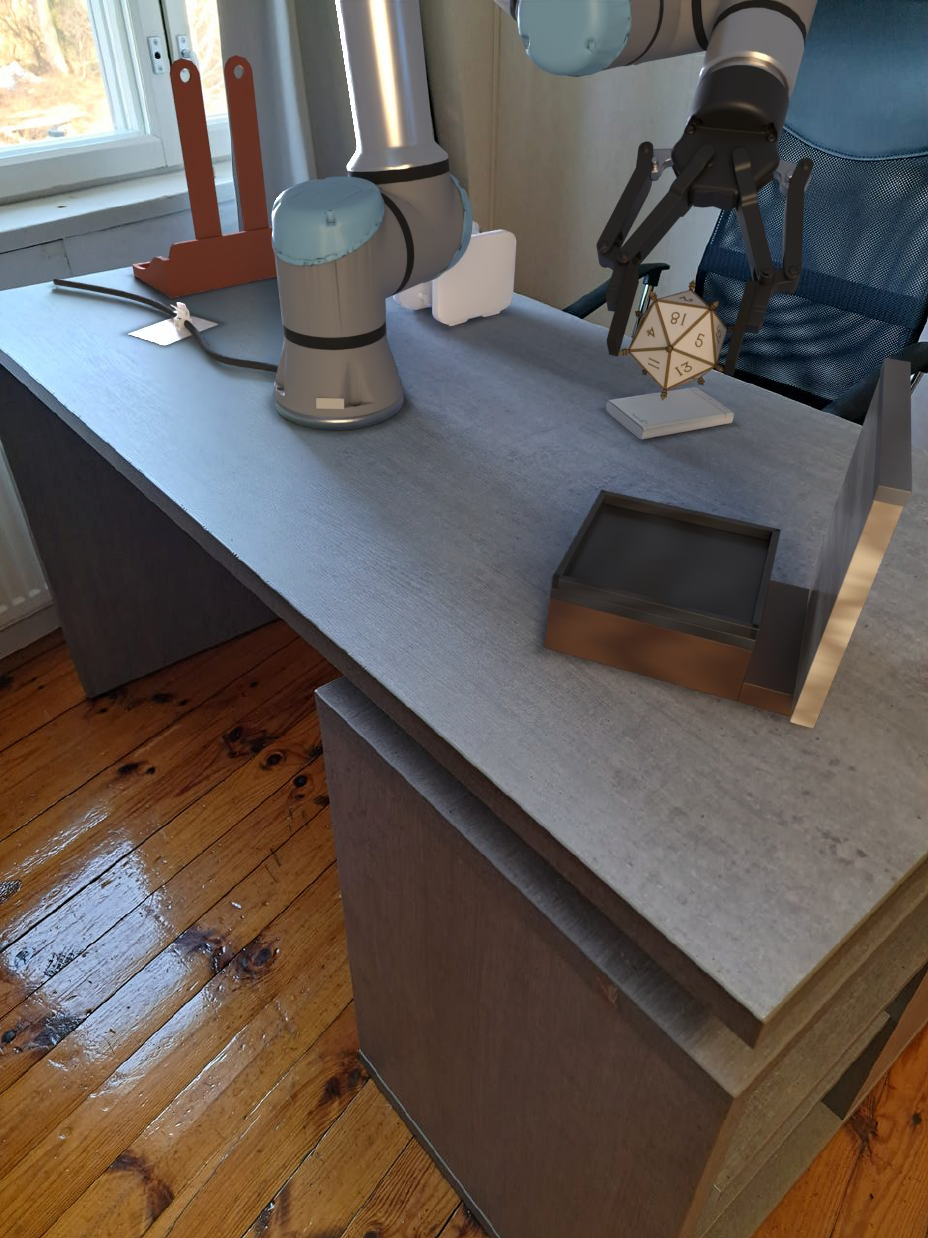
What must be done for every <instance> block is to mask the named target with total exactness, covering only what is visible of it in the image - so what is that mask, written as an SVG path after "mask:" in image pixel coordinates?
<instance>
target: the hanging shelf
mask: <svg viewBox="0 0 928 1238" xmlns="http://www.w3.org/2000/svg"><path fill="white" fill-rule="evenodd" d="M238 66H239V67H240V68H241V72H242V74H241V76H240V77H239V78H238V77H237V76H236V74H235V69H236V67H238ZM183 70H187V72H188V75H189V77H188V80H187V81H183V80H182V76H181V73H182V71H183ZM223 73H224V82H225V88H226V89H225V90H226V97H227V106H228V107H227V108H228V114H229V115H228V116H229V122H230V123H229V124H230V129H231V139H232V146H233V154H234V164H235V170H236V179H237V185H238V194H239V195H238V196H239V203H240V210H241V219H242V227H243V230H241V231H237V232H230V233H225V234H224V233H223V232H222V224H221V223H222V222H221V217H220V209H219V203H218V195H217V187H216V181H215V174H214V173H215V172H214V167H213V159H212V152H211V145H210V138H209V130H208V122H207V116H206V108H205V102H204V95H203V87H202V80H201V73H200V71H199V69H198V67H197V65H196V64H195V63H194V61H192V60H189V59H186V58H183V57H180V58H177V59H175V60H174V61H173V62H172V64H171V66H170V69H169V78H170V84H171V91H172V98H173V104H174V110H175V116H176V123H177V129H178V136H179V143H180V148H181V154H182V162H183V168H184V173H185V179H186V186H187V192H188V200H189V206H190V213H191V218H192V223H193V232H194V237H195V239H190V240H184V241H183V240H182V241H178V242H173V243H172V244H171V245H170V247H169V252H168V257H167V258H166V257H164V256H154V257H153V258H152V259H151V260H150V261H144V262H143V261H142V262H139V263H133V264H131V267H132V271H133V276H134V277H136V278H137V279H139V280H141V281H142V282H143V283H146V284H147V285H149V286H150V287H152V288H154V289H155V290H157V291H158V292H160V293H162V294H163V295H166V296H167V297H168V298H169V299H174V298H177V297H178V298H179V297H183V296H187V295H192V294H198V293H202V292H207V291H212V290H217V289H223V288H228V287H232V286H236V285H242V284H246V283H251V282H257V281H261V280H266V279H270V278H277V274H276V266H275V257H274V250H273V247H272V232H273V226H272V225H271V226H270V225H269V224H270V223H269V216H268V205H267V195H266V187H265V179H264V168H263V167H264V166H263V158H262V148H261V140H260V130H259V120H258V111H257V103H256V93H255V84H254V74H253V68H252V65H251V63H250V62H249V61H248V59H246V57H243V56H240V55H237V54H235V55H233V56H230V57H228V58H227V60H226V62H225V63H224V69H223Z"/></svg>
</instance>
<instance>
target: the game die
mask: <svg viewBox="0 0 928 1238" xmlns="http://www.w3.org/2000/svg"><path fill="white" fill-rule="evenodd" d="M696 285H697V283H696V282H695V279H693V280H691V281H690V282H688V290H684V291H681V292H677V293H674V294H670V295H667V296H662V297H660V298H659V297H658V294H657V292H653V291H650V290H649V295H648V297H649V299H650V300H651V301H652V302H651V304H650V305H648V307H647V309H645V311H644V312H643V311H641V310H639V309H638V310H634V313H635V317H637V319H639V321H638V324H637V327H636V329H635V332H634V334H633V336H632V339H631V341H630V344H629V346H628V348H621V349H620V351H619V353H618V354H619V355H621V356H622V357H623V356H627V355H628V354H629V355H630V356H631V357H632V358H633V359H634V360H635V361H636V363H638V364H639V366H640V367H642V369H641V372H642V373H641V375H642V376H644V375H645V376H648V375H649V376H650V377H651V378H652V379H653V381H655V383H656V384H657V385H658V386H659V387H660V388H661V389H662V391H660V392H661V395H660V396H661V399H662V401H663V400H664V399H665V398H666V397H667V391H670V390H671V389H672V390H673V389H674V388H677V387H681V386H683V385H686V384H688V383H691V382H694V381H697V385H701V386H705V382H706V380H704V378H703V377H704V376H705V375H707V374H708V373H709V372H710V371H713V369H715V370H716V371H717V372H718V373H720V372H721V373H722V372H723V373H724V365H722V364H721V363H718V362H719V360H720V357H721V352H722V350H723V346H724V344H725V341H726V337H727V335H728V334H727V333H728V332H729V333H733V330H734V326H735V324H732V325H729V326H728V327H727V325H726V324H725V323H724V322H723V320H722V319H721V318H720V317H719V315H718V314H717V313H716V311H715V310H717V308H719V300H718V301H714V300H713V301H712V302H711V303H710V305H709V304H708V303H707V302H706V301H705V300H704V299H703V298H701V297H700V295H698V293H696V292H695V291H694V290H695V288H696Z"/></svg>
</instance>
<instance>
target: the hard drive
mask: <svg viewBox="0 0 928 1238" xmlns="http://www.w3.org/2000/svg"><path fill="white" fill-rule="evenodd" d="M661 392H662V391H658V392H651V393H646V394H640V395H633V396H627V397H620V398H613V399H608V400H607V401H606V407H605V411H606V412H607V413H608V414H609V415H610V416H611V417H612V418H613V419H615V420H616V421H617V422H619V424H621V425H622V426H623V427H624V428H625V429H627V431H629V432H630V433H631V434H633V435H634V436H635V437H636V438H638V439H639V440H646V439H652V438H657V437H663V436H668V435H673V434H679V433H683V432H684V433H685V432H690V431H695V430H701V429H706V428H711V427H717V426H723V425H728V424H732V423H733V420H734V416H735V413H734V411H732V410H731V409H730V408H728V407H726V406H725V405H724V404H723V403H721V402H719V401H718V400H716V399H715V398H713V397H712V396H711V395H709V394H707V393H706V392H704V390H702V389H700V388H698V387H697V386H693V387H686V388H678V389H672V390H671V389H670V390H667V397H666V398H665V399H664V400H663V401H662V399H661V396H660V395H661Z"/></svg>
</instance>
